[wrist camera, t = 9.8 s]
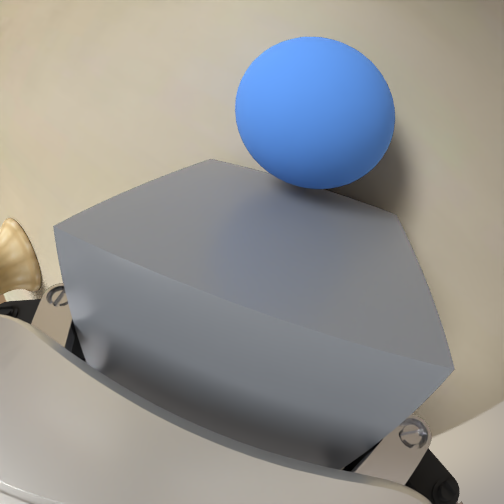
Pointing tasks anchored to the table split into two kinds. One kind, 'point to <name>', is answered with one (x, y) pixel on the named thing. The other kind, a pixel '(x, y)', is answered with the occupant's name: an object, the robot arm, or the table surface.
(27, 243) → the hand bell
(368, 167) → the ball
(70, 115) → the table surface
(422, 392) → the grey cube
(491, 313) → the table surface
